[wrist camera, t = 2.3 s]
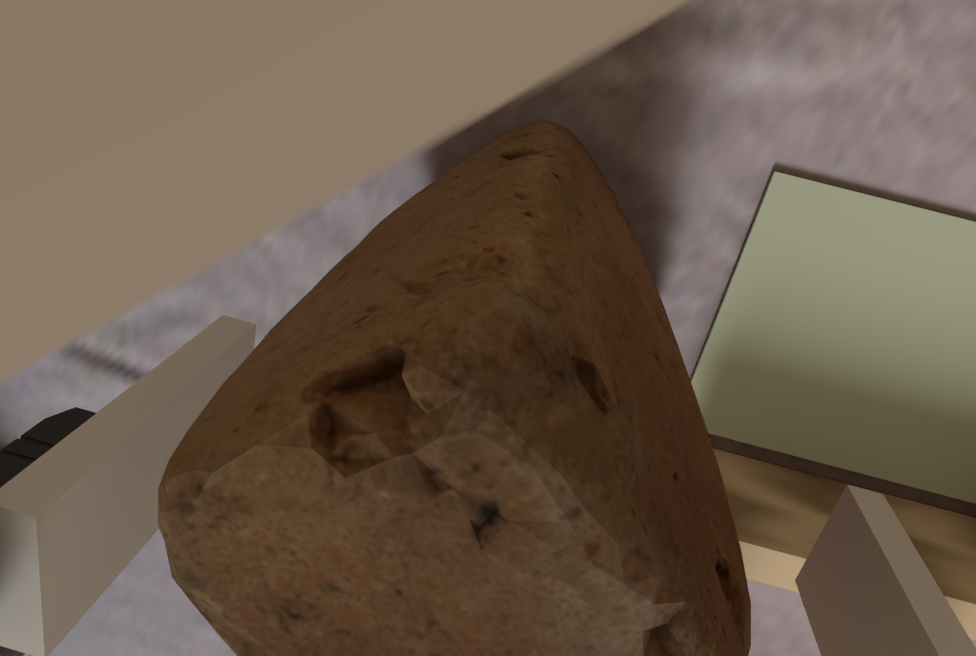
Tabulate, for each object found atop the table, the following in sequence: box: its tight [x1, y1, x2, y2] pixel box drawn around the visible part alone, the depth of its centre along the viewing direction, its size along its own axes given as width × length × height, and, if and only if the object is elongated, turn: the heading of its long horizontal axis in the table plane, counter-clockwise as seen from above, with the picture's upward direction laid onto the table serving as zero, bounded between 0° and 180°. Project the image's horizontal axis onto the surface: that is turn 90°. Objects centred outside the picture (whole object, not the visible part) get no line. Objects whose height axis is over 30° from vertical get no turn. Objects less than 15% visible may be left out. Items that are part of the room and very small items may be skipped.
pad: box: [690, 171, 976, 504], centre depth 28 cm, size 14×11×1 cm
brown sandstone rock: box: [158, 121, 751, 656], centre depth 19 cm, size 11×8×20 cm
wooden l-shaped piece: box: [713, 448, 976, 640], centre depth 25 cm, size 15×16×6 cm
